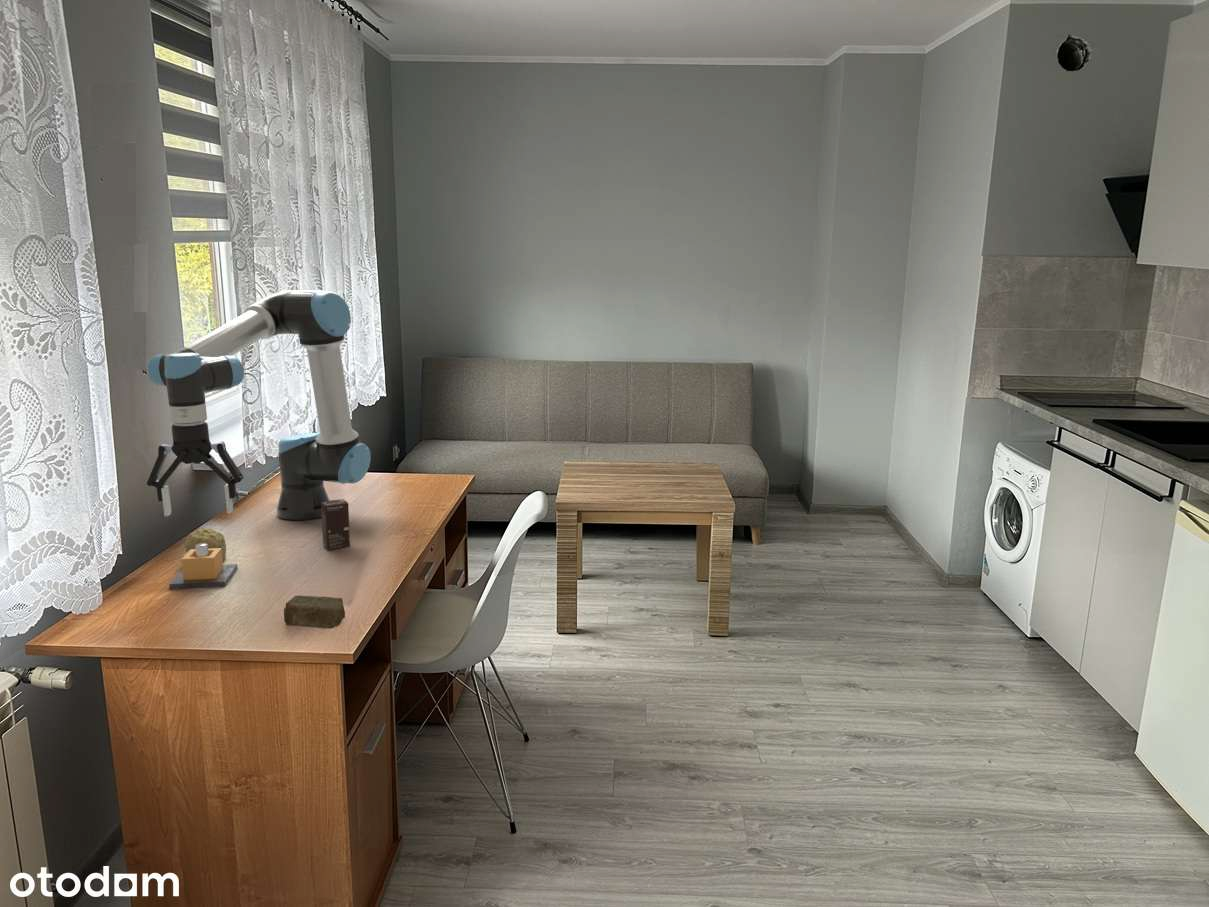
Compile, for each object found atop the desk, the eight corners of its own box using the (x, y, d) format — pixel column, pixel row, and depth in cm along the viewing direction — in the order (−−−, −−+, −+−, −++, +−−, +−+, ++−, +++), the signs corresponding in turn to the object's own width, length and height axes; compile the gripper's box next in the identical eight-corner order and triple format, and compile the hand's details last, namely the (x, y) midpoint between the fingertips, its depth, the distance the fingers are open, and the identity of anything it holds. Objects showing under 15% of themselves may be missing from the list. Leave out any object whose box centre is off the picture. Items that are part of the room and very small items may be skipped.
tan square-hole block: (192, 569, 217) (190, 549, 216) (223, 568, 218) (221, 548, 217) (183, 579, 210) (181, 559, 209) (215, 578, 211) (213, 557, 210)
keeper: (185, 571, 219) (181, 538, 218) (237, 568, 221) (234, 536, 219) (169, 589, 208) (165, 554, 206) (225, 586, 210) (222, 552, 208)
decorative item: (227, 574, 228) (241, 537, 232) (202, 562, 219) (216, 523, 223) (196, 571, 231) (210, 534, 235) (170, 558, 222) (185, 520, 226)
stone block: (296, 615, 193) (294, 593, 192) (347, 619, 192) (346, 597, 191) (282, 626, 188) (281, 603, 187) (335, 630, 186) (334, 607, 185)
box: (328, 551, 234) (325, 505, 232) (323, 546, 238) (319, 501, 235) (351, 547, 237) (348, 502, 235) (345, 542, 241) (343, 498, 239)
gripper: (124, 427, 201) (136, 520, 206) (243, 424, 205) (252, 515, 210) (136, 421, 208) (147, 510, 213) (251, 417, 212) (259, 506, 217)
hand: (199, 513), depth 211 cm, fingers open, 13 cm apart
